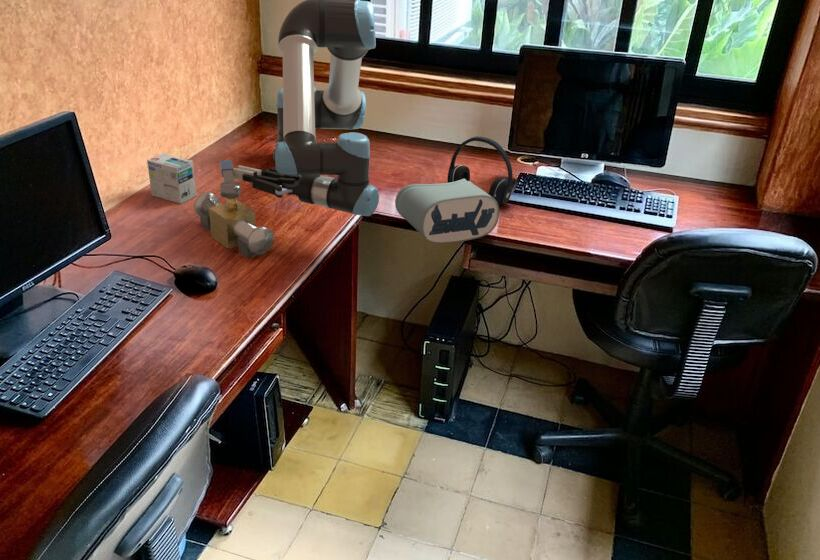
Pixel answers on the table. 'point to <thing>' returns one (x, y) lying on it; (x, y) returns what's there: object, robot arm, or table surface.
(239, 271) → the table surface
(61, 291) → the table surface
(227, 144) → the table surface
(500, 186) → the headphones
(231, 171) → the lever
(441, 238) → the grey rounded block
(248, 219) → the valve body
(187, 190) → the light bulb box
